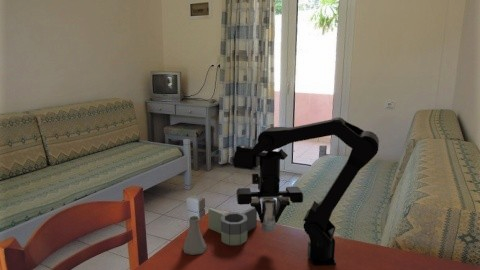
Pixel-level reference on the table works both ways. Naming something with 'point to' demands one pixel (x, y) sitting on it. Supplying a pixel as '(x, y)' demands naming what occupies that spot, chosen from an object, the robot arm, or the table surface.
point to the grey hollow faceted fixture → (239, 222)
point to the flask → (194, 238)
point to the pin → (268, 214)
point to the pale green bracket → (227, 239)
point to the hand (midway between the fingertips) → (268, 222)
